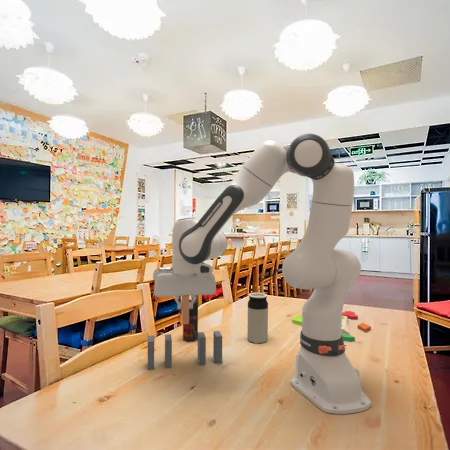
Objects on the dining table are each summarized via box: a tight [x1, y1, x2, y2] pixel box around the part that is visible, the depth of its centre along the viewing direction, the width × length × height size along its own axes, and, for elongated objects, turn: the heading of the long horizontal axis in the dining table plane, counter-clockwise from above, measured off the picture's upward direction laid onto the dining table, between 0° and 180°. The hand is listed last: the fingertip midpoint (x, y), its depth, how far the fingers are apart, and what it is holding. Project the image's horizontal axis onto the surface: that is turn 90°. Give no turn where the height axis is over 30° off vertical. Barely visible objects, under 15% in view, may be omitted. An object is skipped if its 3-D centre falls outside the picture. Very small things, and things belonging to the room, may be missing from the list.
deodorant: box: [182, 299, 199, 343], centre depth 123 cm, size 6×6×15 cm
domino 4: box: [197, 331, 207, 366], centre depth 104 cm, size 2×5×9 cm, turn 13°
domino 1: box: [147, 335, 155, 371], centre depth 100 cm, size 2×5×9 cm, turn 13°
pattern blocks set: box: [291, 310, 372, 343], centre depth 141 cm, size 38×34×3 cm
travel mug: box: [246, 292, 269, 344], centre depth 123 cm, size 8×8×18 cm
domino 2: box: [164, 333, 173, 369], centre depth 101 cm, size 2×5×9 cm, turn 13°
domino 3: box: [180, 296, 190, 325], centre depth 102 cm, size 2×5×9 cm, turn 13°
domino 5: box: [212, 330, 223, 364], centre depth 105 cm, size 2×5×9 cm, turn 13°
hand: (185, 308), depth 102 cm, fingers closed on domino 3, 2 cm apart
